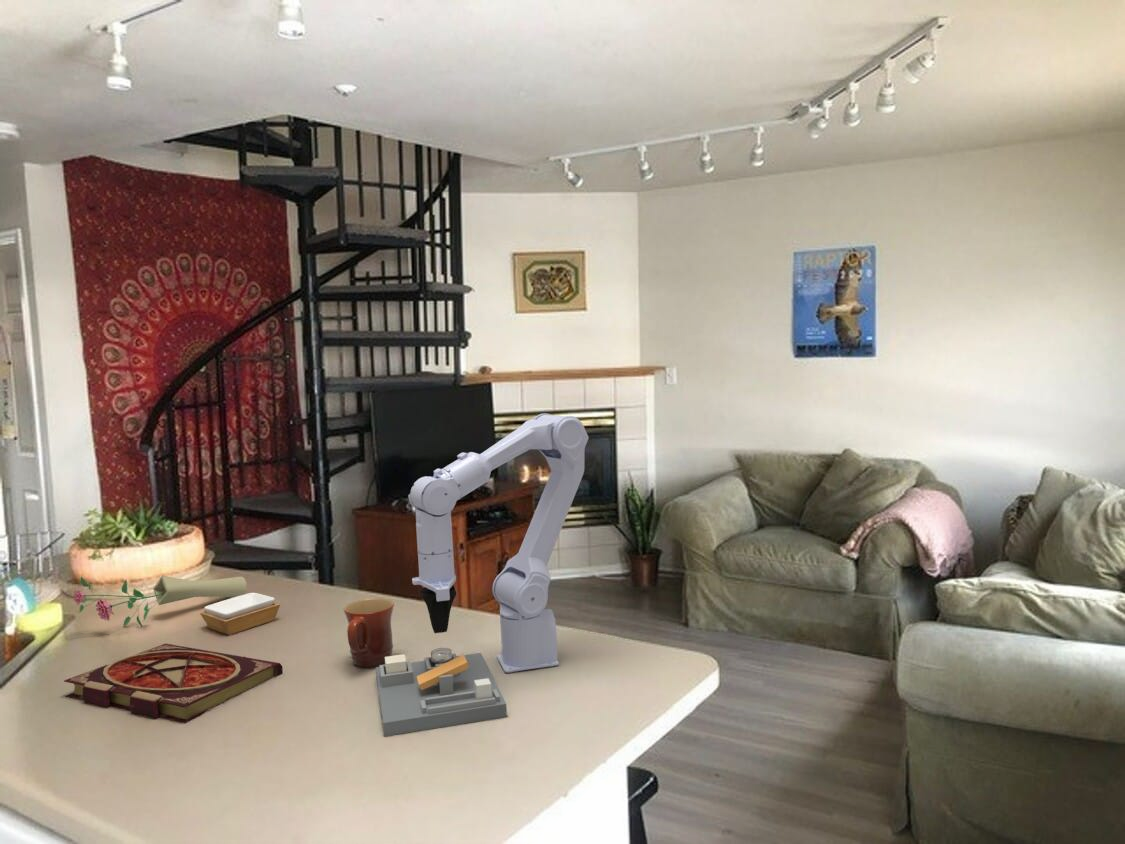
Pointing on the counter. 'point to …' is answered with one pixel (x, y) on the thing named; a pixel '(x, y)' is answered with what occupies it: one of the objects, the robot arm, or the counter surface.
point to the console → (436, 697)
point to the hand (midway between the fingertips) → (440, 631)
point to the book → (171, 681)
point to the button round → (441, 656)
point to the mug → (370, 631)
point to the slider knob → (482, 689)
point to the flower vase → (169, 593)
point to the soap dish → (240, 613)
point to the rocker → (442, 671)
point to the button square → (395, 664)
